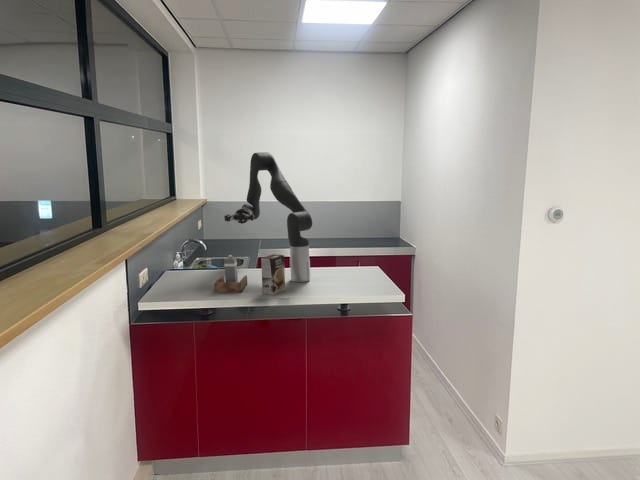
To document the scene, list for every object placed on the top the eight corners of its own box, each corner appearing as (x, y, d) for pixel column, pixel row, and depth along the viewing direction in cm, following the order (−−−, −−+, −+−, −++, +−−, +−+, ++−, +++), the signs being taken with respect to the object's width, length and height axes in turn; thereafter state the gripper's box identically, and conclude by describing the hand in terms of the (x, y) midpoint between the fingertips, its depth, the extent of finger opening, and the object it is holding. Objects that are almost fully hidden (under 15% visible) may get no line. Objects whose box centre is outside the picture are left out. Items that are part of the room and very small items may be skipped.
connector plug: (238, 283, 208) (236, 254, 206) (235, 286, 204) (234, 256, 201) (228, 284, 209) (226, 254, 206) (225, 286, 204) (223, 256, 201)
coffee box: (273, 295, 194) (272, 258, 191) (262, 293, 197) (260, 257, 194) (286, 289, 201) (284, 254, 199) (274, 288, 205) (273, 253, 202)
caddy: (247, 284, 211) (247, 275, 211) (241, 292, 199) (240, 282, 198) (222, 284, 212) (222, 275, 211) (214, 292, 199) (214, 283, 198)
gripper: (229, 208, 232) (221, 211, 216) (256, 207, 231) (250, 211, 215) (230, 222, 233) (222, 227, 217) (257, 222, 232) (251, 226, 216)
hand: (236, 219), depth 216 cm, fingers open, 8 cm apart
